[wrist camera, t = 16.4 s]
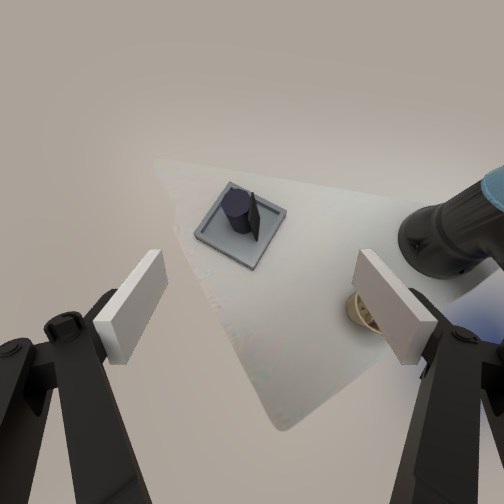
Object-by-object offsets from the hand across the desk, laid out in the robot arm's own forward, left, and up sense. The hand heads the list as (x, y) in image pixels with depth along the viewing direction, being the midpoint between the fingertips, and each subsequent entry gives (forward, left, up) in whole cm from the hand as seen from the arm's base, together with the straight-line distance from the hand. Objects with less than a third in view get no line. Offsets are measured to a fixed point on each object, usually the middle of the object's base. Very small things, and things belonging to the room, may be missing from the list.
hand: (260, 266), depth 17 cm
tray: (+11, -13, -33) cm, 37 cm away
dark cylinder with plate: (+10, -13, -32) cm, 36 cm away
